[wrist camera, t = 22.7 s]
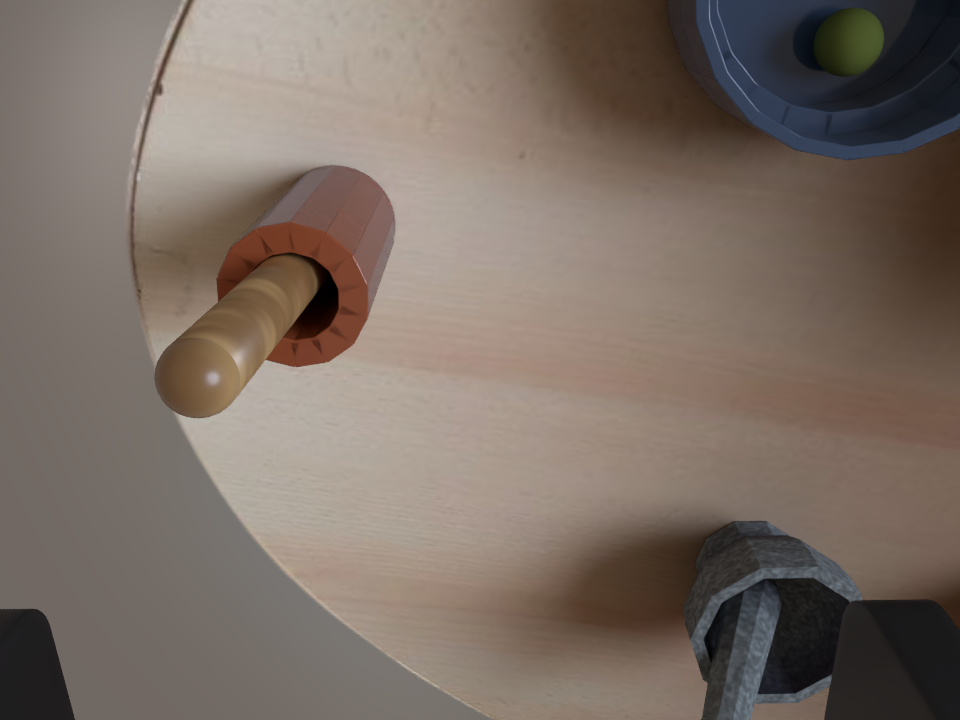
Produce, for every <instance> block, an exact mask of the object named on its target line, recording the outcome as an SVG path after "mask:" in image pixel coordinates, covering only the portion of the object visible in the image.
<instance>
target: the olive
mask: <svg viewBox="0 0 960 720" xmlns="http://www.w3.org/2000/svg"><path fill="white" fill-rule="evenodd" d="M883 43H884V32H883V28H882V25H881V23H880V21H879V20H878V19H877V17H876V16H875V15H873V14H872V13H871V12H869V11H867V10H864V9H861V8H846V9H842V10H839V11H837V12H835V13H833V14H832V15H830V16H829V17H828V18H827V19H826V20H825V21H824V22H823V23H822V24H821V25H820V27H819V29H818V31H817V33H816V35H815V39H814V54H815V58H816V60H817V62H818V64H819V65H820V66H821V67H822V68H823V69H824V70H825V71H826V72H828V73H830V74H832V75H835V76H840V77H849V76H854V75H857V74H859V73H862V72H863V71H865V70H867V69H868V68H869V67H870V66H871V65H872V64H873V63H874V62H875V61H876V60H877V58H878V57H879V55H880V53H881V51H882V48H883Z"/></svg>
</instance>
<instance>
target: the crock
mask: <svg viewBox="0 0 960 720" xmlns="http://www.w3.org/2000/svg"><path fill="white" fill-rule="evenodd" d="M394 235H395V216H394V211H393V208H392V205H391V203H390V200H389V198H388V197H387V195H386V193H385V192H384V191H383V189H382V188H381V187H380V186H379V185H378V184H377V183H376V182H375V181H374V180H373V179H372V178H370V177H369V176H367V175H366V174H364V173H362V172H360V171H358V170H356V169H353V168H349V167H344V166H324V167H320V168H316V169H314V170H311V171H309V172H307V173H306V174H304V175H303V176H301V177H300V178H299V179H298V180H297V181H296V182H294V183H293V184H292V185H290V186H289V187H288V188H287V189H286V190H285V191H284V192H283V193H282V194H281V195H280V196H279V197H278V198H277V199H276V200H275V202H274V203H273V204H272V205H271V206H270V207H269V208H268V209H267V210H266V211H265V212H264V213H263V214H262V215H261V216H260V217H259V218H258V219H257V220H256V221H255V222H254V223H253V224H252V225H251V226H250V227H249V228H248V229H247V230H246V231H245V233H244V234H243V235H242V236H241V237H240V238H239V239H238V240H237V241H236V242H235V243H234V244H233V245H232V246H231V248H230V249H229V250H228V253H227V255H226V257H225V259H224V262H223V264H222V266H221V268H220V270H219V273H218V277H217V278H216V279H217V293H218V302H219V301H220V300H221V299H222V298H223V297H224V296H226V295H227V294H228V293H229V292H230V291H231V290H232V289H233V288H235V287H236V286H237V285H238V284H239V283H240V282H241V281H242V280H244V279H245V278H246V277H247V276H248V275H249V274H250V273H251V272H252V271H254V270H255V269H256V268H257V267H258V266H259V265H260V264H261V263H263V262H264V261H265V260H266V259H268V258H269V257H270V256H272V255H278V254H284V253H290V252H292V253H296V254H299V255H303V256H307V257H310V258H313V259H315V260H316V261H317V262H318V263H320V264H321V265H322V266H323V267H325V268H326V269H327V270H328V271H329V272H330V274H331V275H330V277H329V278H328V279H327V280H326V282H325V283H324V284H323V286H322V287H321V288H320V290H319V291H318V292H317V293H316V295H315V296H314V297H313V299H312V300H311V301H310V303H309V304H308V305H307V306H306V308H305V309H304V310H303V312H302V313H301V314H300V315H299V317H298V318H297V319H296V321H295V322H294V323H293V325H292V326H291V327H290V328H289V330H288V331H287V332H286V334H285V335H284V336H283V338H282V339H281V340H280V341H279V343H278V344H277V345H276V347H275V348H274V349H273V351H272V352H271V353H270V354H269V356H268V357H267V358H266V360H268V361H272V362H276V363H280V364H284V365H288V366H292V367H295V366H296V367H301V366H307V365H313V364H320V363H326V362H329V361H331V360H332V359H334V358H335V357H336V356H338V355H339V354H341V353H342V352H344V351H345V350H347V349H348V348H349V347H351V346H352V345H353V344H354V343H355V341H356V339H357V337H358V336H359V334H360V332H361V330H362V328H363V326H364V324H365V322H366V320H367V319H368V316H369V313H370V310H371V307H372V304H373V301H374V298H375V296H376V293H377V290H378V287H379V284H380V281H381V278H382V275H383V272H384V269H385V267H386V264H387V261H388V258H389V255H390V252H391V249H392V246H393V243H394Z"/></svg>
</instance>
